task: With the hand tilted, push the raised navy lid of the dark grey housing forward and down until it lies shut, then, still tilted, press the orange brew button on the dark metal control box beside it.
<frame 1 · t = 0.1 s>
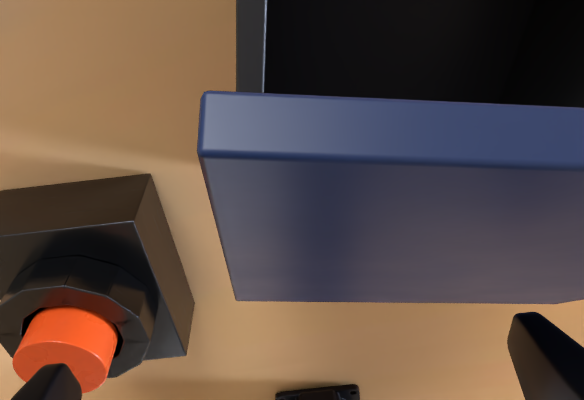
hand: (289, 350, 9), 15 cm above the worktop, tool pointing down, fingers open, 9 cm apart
brew panel: (107, 252, 27), on the worktop
brew button: (68, 350, 22), point 7 cm above the worktop, slide at 0.1 cm
lid: (480, 258, 12), point 12 cm above the worktop, hinge at 35.5°
dark grey housing: (384, 58, 21), on the worktop
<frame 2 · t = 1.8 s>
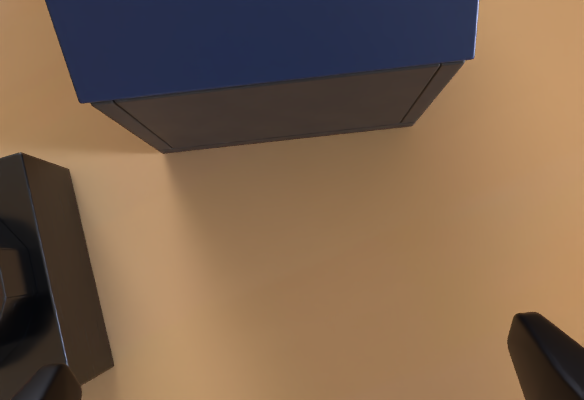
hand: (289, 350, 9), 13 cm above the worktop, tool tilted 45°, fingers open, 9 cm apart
brew panel: (13, 287, 23), on the worktop
dark grey housing: (274, 21, 24), on the worktop
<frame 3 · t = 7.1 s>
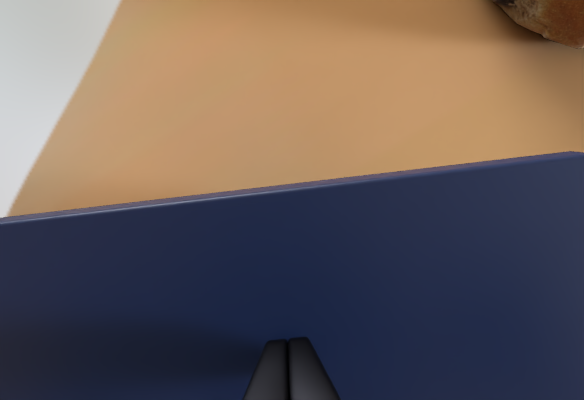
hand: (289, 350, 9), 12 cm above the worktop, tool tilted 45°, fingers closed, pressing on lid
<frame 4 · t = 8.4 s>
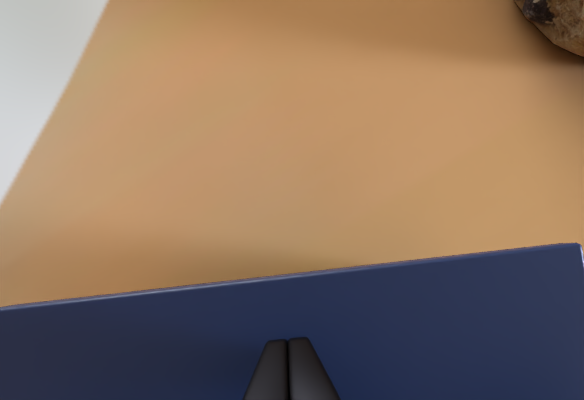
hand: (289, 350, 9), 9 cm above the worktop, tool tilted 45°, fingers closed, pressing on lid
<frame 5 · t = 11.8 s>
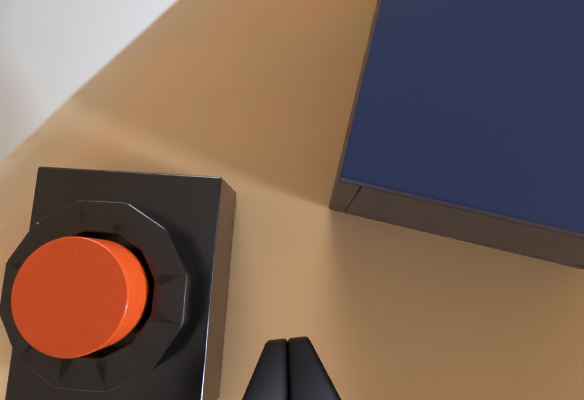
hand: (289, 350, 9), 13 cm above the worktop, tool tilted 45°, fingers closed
brew panel: (148, 286, 23), on the worktop
brew button: (83, 294, 16), point 7 cm above the worktop, slide at 0.1 cm
lid: (572, 25, 15), point 9 cm above the worktop, hinge at 2.3°
dark grey housing: (477, 118, 24), on the worktop
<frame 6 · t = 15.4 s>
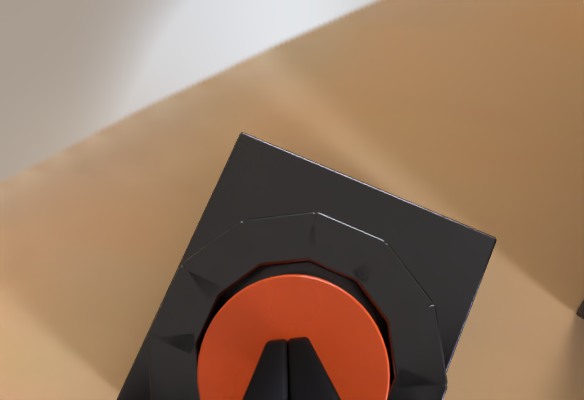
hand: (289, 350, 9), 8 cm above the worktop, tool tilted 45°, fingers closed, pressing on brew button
brew panel: (300, 328, 17), on the worktop
brew button: (294, 362, 11), point 6 cm above the worktop, slide at -0.3 cm, touching gripper
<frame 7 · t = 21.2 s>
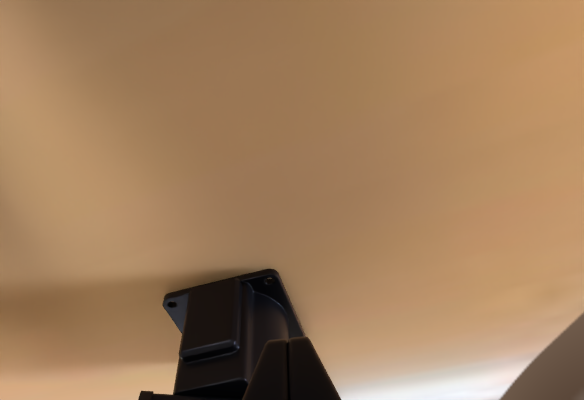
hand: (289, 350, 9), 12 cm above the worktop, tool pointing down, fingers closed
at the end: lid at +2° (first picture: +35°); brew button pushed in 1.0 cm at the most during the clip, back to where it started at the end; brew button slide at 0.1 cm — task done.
